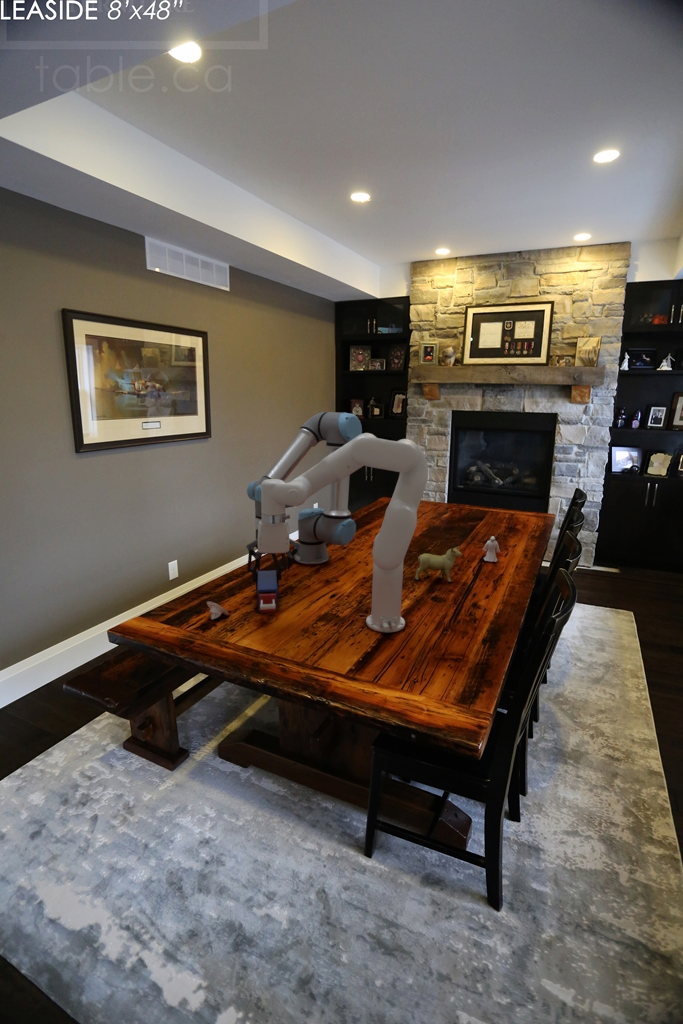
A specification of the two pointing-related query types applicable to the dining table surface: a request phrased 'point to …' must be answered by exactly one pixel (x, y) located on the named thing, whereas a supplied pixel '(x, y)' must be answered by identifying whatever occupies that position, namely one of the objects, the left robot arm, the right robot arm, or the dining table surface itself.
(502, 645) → the dining table surface
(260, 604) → the drawer
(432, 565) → the toy
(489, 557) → the figurine
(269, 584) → the cabinet
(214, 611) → the seashell
